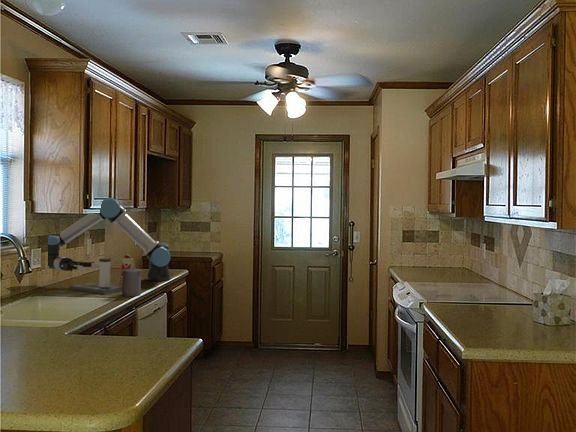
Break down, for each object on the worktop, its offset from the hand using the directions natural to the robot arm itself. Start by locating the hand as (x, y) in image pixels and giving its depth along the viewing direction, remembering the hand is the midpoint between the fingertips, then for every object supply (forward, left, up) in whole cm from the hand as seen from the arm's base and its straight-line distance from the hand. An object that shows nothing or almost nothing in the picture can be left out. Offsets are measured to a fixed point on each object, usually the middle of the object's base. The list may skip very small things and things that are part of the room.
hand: (91, 267), depth 319 cm
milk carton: (-17, -14, -13) cm, 25 cm away
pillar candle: (-26, +13, -13) cm, 32 cm away
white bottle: (-9, +4, -10) cm, 14 cm away
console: (-4, +2, -12) cm, 13 cm away
